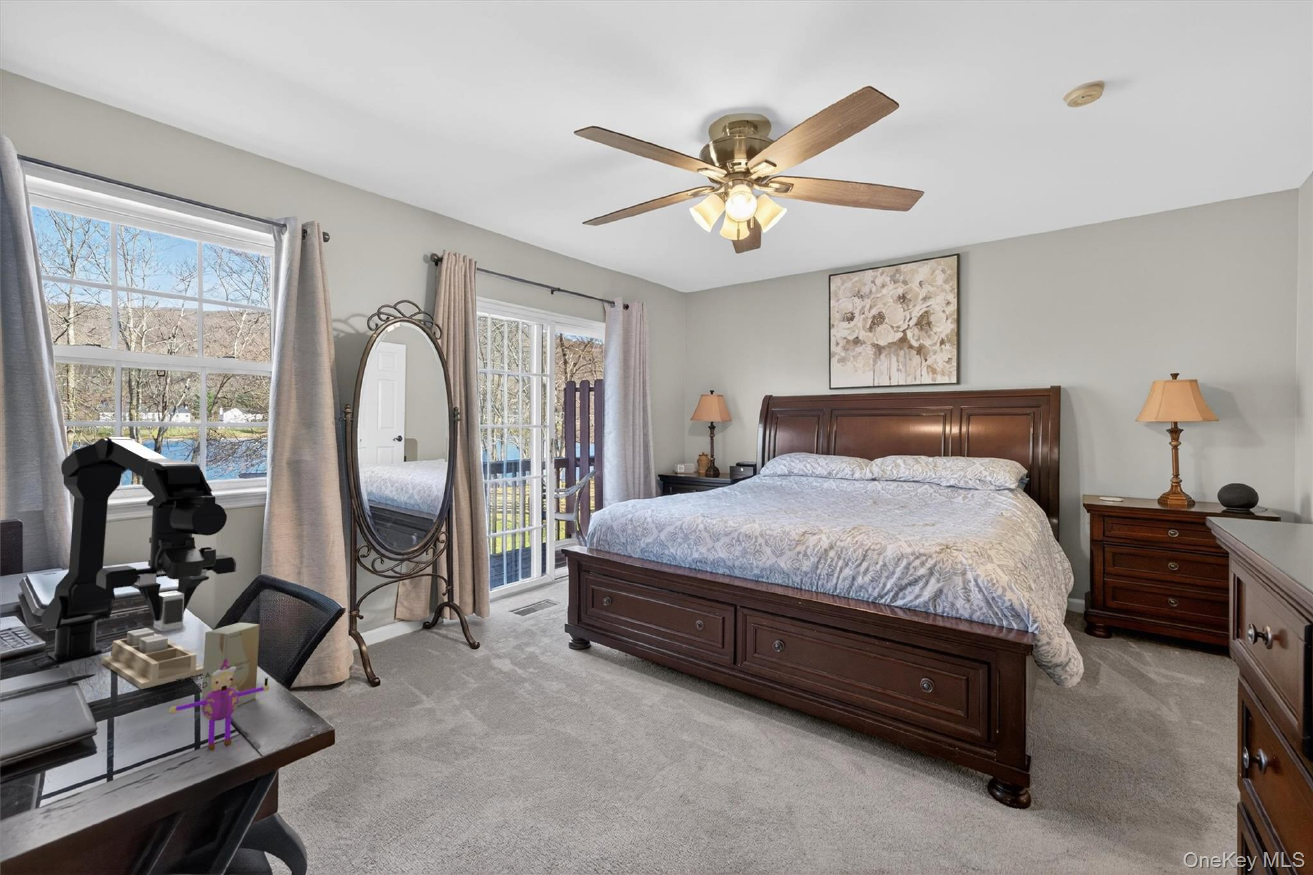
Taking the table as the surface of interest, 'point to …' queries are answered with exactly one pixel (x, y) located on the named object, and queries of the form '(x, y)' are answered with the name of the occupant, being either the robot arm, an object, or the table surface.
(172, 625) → the grey rounded square block
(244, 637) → the skincare box
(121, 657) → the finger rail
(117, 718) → the table surface
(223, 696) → the wizard figurine
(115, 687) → the table surface
